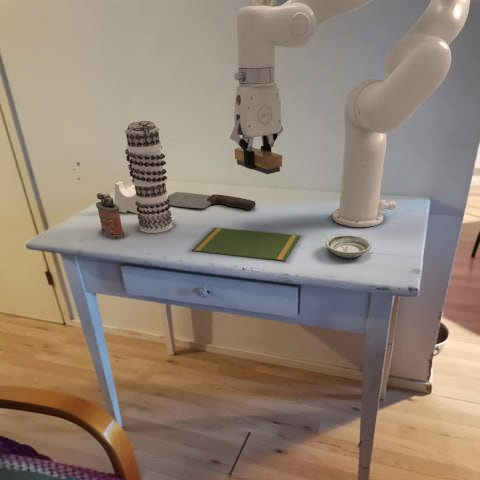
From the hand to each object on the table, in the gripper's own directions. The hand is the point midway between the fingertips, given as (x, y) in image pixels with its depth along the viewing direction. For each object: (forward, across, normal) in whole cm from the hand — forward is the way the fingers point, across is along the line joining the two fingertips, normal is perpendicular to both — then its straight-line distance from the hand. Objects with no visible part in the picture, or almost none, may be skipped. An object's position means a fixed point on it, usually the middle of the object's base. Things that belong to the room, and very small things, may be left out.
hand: (257, 165), depth 104 cm
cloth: (+15, -8, -6) cm, 18 cm away
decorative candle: (+16, -20, +18) cm, 31 cm away
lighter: (+16, -30, +21) cm, 40 cm away
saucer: (+15, +6, -24) cm, 29 cm away
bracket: (+16, -16, +37) cm, 44 cm away
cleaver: (+16, 0, +24) cm, 29 cm away
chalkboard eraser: (0, 0, 0) cm, 0 cm away
